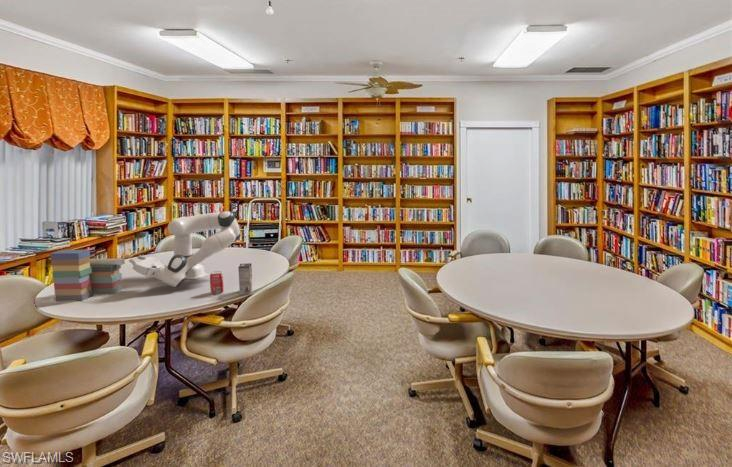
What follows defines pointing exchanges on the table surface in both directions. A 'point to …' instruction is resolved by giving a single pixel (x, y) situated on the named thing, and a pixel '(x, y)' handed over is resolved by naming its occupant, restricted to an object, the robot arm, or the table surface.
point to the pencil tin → (107, 261)
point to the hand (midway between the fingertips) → (134, 258)
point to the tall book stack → (71, 275)
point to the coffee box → (245, 278)
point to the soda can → (216, 282)
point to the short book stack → (105, 279)
